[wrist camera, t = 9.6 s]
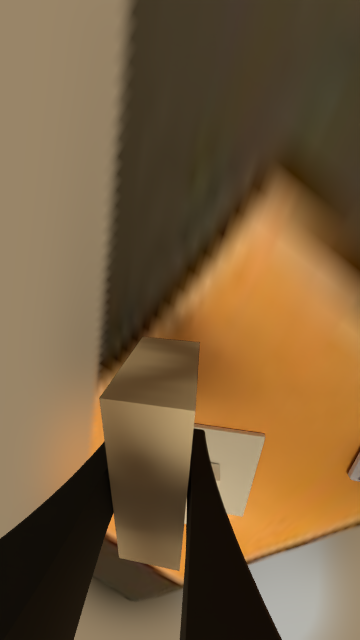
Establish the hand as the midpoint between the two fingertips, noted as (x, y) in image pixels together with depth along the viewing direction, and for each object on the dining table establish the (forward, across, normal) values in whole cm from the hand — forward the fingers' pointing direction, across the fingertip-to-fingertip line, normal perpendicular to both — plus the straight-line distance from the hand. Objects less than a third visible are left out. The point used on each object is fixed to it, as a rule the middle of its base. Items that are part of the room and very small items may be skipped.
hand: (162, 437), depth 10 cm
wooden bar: (+2, 0, 0) cm, 2 cm away
